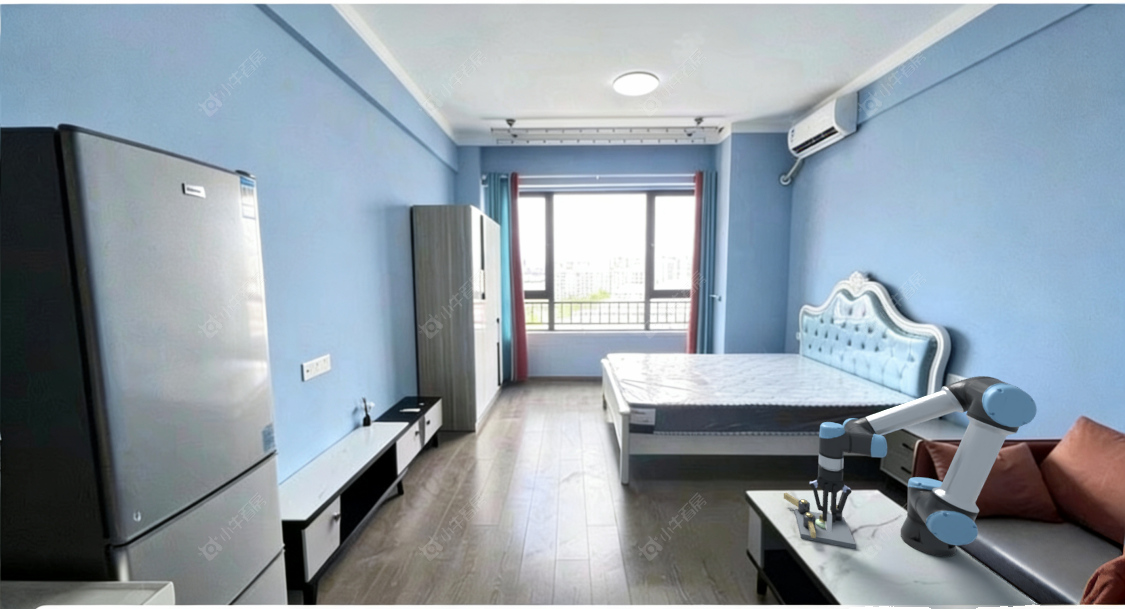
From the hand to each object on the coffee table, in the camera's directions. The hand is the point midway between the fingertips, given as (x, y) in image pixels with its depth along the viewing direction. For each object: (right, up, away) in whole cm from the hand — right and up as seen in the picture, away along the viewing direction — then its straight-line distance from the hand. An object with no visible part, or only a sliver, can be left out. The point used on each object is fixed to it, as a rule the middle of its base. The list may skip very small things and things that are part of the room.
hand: (828, 529), depth 151 cm
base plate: (+3, -5, +9) cm, 10 cm away
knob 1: (0, -2, +21) cm, 21 cm away
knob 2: (-4, -3, +4) cm, 6 cm away
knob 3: (+8, -2, +11) cm, 14 cm away
